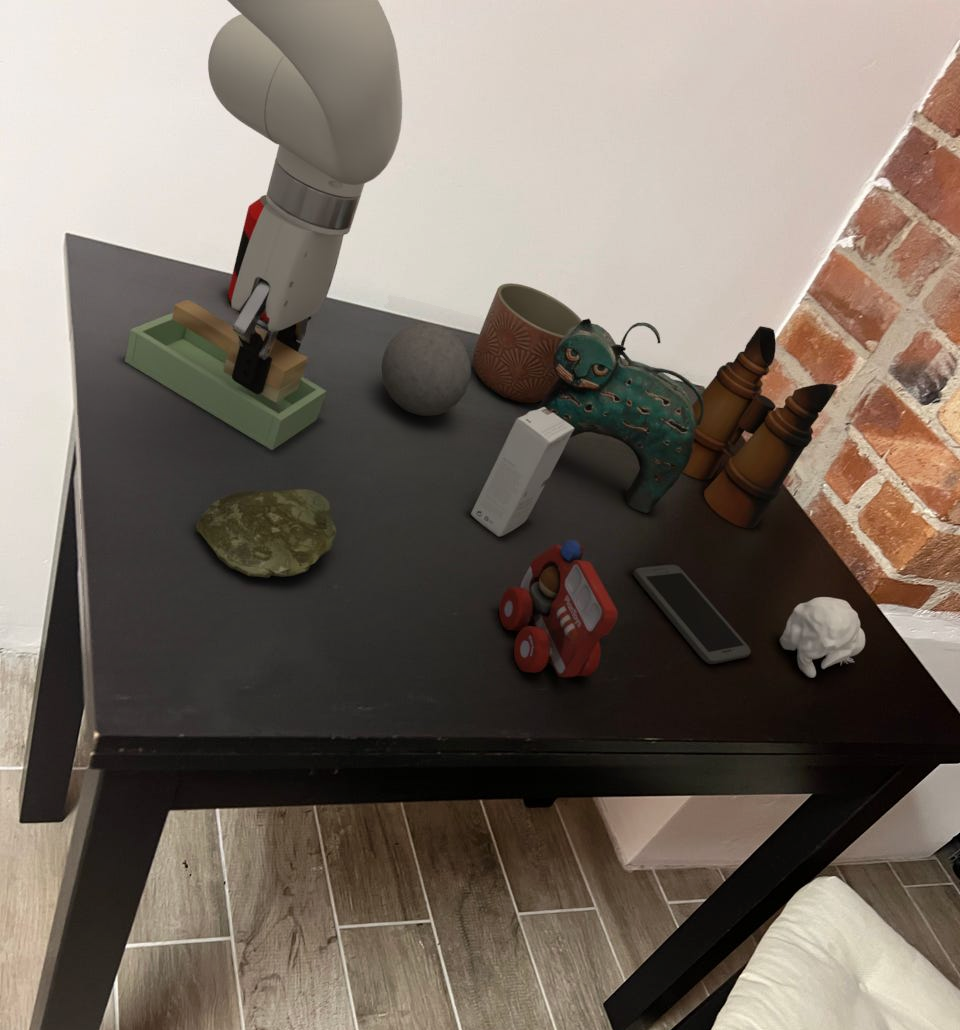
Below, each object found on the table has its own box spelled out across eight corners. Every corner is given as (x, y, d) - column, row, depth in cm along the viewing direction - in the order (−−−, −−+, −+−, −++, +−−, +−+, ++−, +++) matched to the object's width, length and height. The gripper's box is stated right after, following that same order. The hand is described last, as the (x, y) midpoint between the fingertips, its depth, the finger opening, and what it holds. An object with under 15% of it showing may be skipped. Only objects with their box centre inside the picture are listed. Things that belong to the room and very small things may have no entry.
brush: (161, 335, 88) (168, 301, 86) (189, 323, 92) (196, 290, 90) (274, 403, 88) (284, 371, 86) (298, 389, 91) (308, 357, 89)
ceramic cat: (503, 455, 106) (582, 299, 94) (510, 430, 111) (586, 279, 99) (653, 524, 109) (748, 382, 97) (652, 497, 114) (743, 359, 102)
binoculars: (769, 527, 122) (866, 402, 110) (731, 529, 117) (829, 398, 105) (688, 442, 131) (769, 318, 119) (649, 441, 126) (731, 310, 114)
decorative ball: (462, 438, 105) (497, 363, 99) (384, 427, 100) (416, 347, 94) (434, 389, 111) (465, 315, 105) (359, 376, 106) (387, 297, 99)
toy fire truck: (549, 601, 89) (599, 521, 83) (591, 698, 82) (651, 618, 75) (487, 593, 86) (534, 509, 80) (525, 693, 78) (581, 609, 72)
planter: (473, 346, 124) (506, 272, 117) (554, 387, 126) (591, 316, 119) (455, 381, 115) (489, 303, 108) (542, 425, 116) (582, 350, 109)
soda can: (276, 293, 112) (302, 197, 104) (300, 327, 108) (330, 231, 101) (217, 285, 107) (240, 185, 100) (241, 321, 103) (267, 219, 96)
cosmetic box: (500, 539, 94) (552, 444, 86) (466, 514, 94) (515, 417, 87) (527, 521, 98) (579, 429, 91) (495, 496, 99) (544, 403, 92)
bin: (124, 361, 89) (130, 328, 87) (180, 337, 96) (186, 306, 94) (271, 450, 88) (281, 420, 86) (316, 419, 95) (326, 390, 93)
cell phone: (673, 567, 104) (676, 563, 103) (750, 657, 97) (754, 652, 96) (629, 572, 99) (633, 567, 99) (707, 666, 92) (711, 661, 92)
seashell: (176, 514, 74) (267, 432, 74) (202, 532, 81) (285, 456, 82) (261, 605, 73) (352, 521, 74) (280, 615, 81) (363, 538, 81)
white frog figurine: (812, 582, 96) (871, 588, 103) (760, 637, 100) (819, 640, 108) (850, 626, 92) (908, 629, 100) (794, 681, 97) (853, 680, 104)
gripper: (322, 165, 85) (273, 337, 96) (221, 187, 72) (177, 384, 83) (390, 205, 85) (333, 373, 96) (301, 235, 72) (247, 426, 83)
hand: (261, 376), depth 89 cm, fingers closed on brush, 4 cm apart
